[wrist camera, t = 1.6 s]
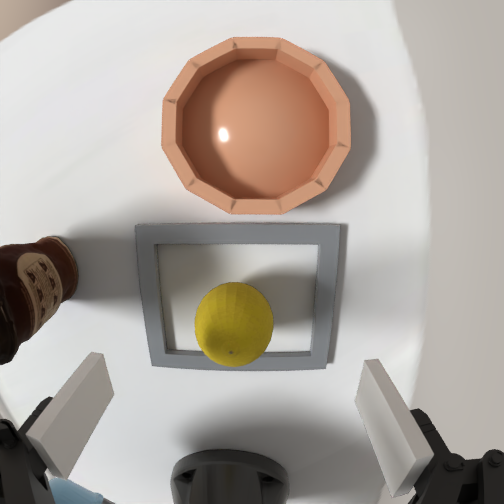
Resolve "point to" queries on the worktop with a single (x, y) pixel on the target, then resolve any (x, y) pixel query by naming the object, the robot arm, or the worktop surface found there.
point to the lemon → (233, 324)
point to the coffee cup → (32, 289)
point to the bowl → (256, 125)
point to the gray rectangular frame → (239, 234)
